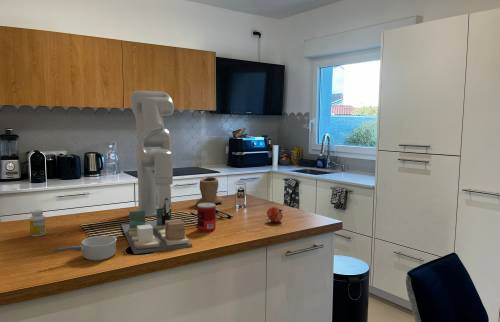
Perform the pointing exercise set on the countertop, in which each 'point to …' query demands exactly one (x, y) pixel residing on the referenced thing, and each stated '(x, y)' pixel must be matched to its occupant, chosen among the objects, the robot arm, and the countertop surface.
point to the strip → (161, 230)
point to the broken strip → (136, 220)
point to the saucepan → (95, 247)
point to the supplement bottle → (37, 223)
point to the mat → (162, 244)
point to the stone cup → (209, 190)
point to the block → (144, 233)
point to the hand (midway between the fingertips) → (163, 221)
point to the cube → (175, 229)
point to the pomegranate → (274, 214)
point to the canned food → (206, 217)
